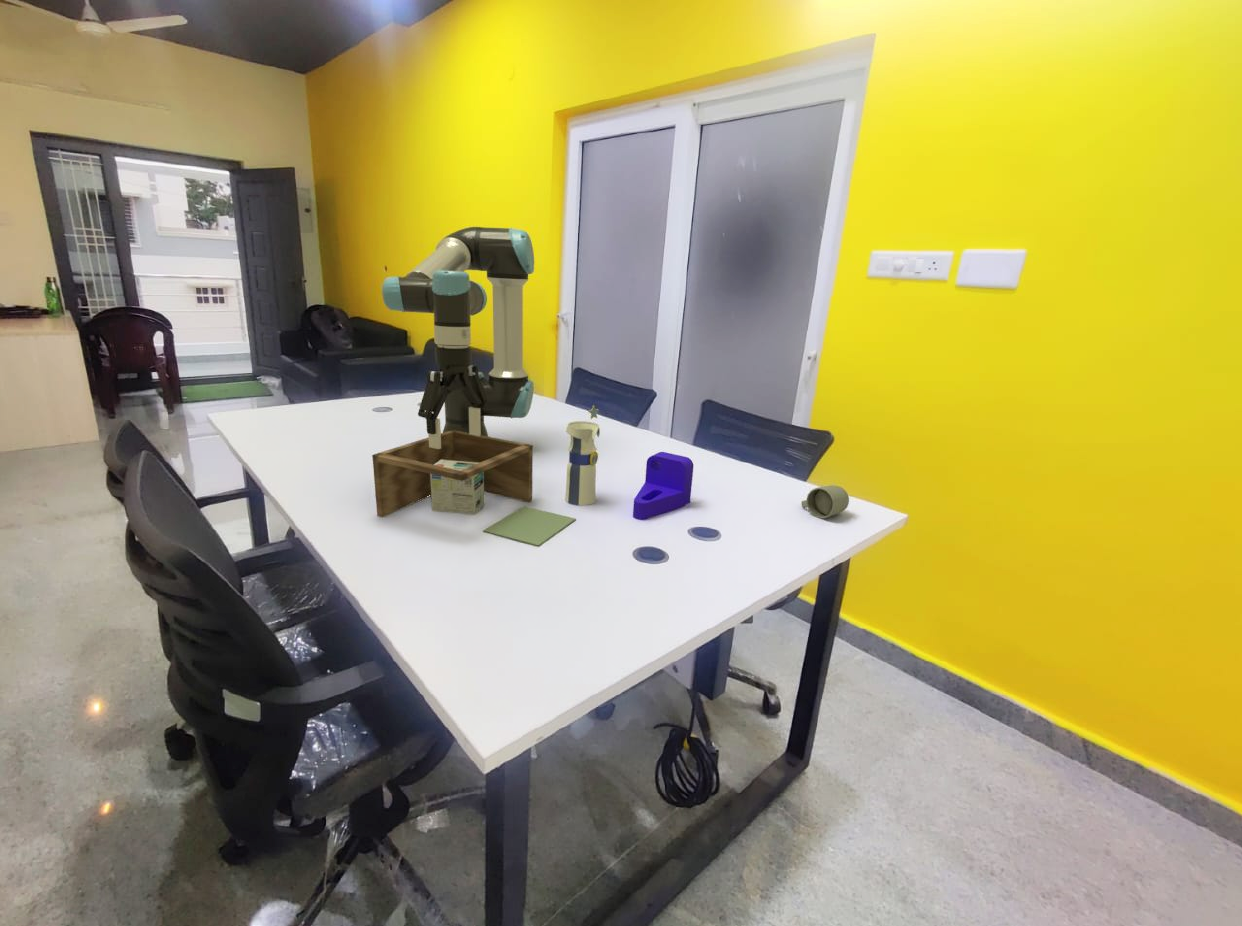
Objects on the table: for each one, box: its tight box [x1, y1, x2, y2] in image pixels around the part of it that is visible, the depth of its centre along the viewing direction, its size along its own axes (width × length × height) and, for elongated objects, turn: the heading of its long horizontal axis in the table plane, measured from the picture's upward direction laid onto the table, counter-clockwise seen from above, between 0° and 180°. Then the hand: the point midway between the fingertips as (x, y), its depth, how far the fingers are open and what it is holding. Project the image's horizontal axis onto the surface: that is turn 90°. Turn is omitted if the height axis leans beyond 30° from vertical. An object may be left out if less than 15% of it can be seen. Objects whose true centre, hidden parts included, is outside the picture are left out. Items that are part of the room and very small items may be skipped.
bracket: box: [632, 451, 694, 521], centre depth 141 cm, size 18×11×12 cm, turn 149°
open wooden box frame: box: [372, 430, 534, 518], centre depth 134 cm, size 26×24×14 cm
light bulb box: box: [430, 459, 486, 515], centre depth 134 cm, size 11×7×11 cm, turn 84°
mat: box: [482, 505, 577, 548], centre depth 128 cm, size 16×14×1 cm
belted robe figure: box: [564, 405, 601, 507], centre depth 141 cm, size 8×9×25 cm
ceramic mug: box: [801, 484, 850, 520], centre depth 145 cm, size 11×8×8 cm
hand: (455, 441), depth 131 cm, fingers open, 13 cm apart
